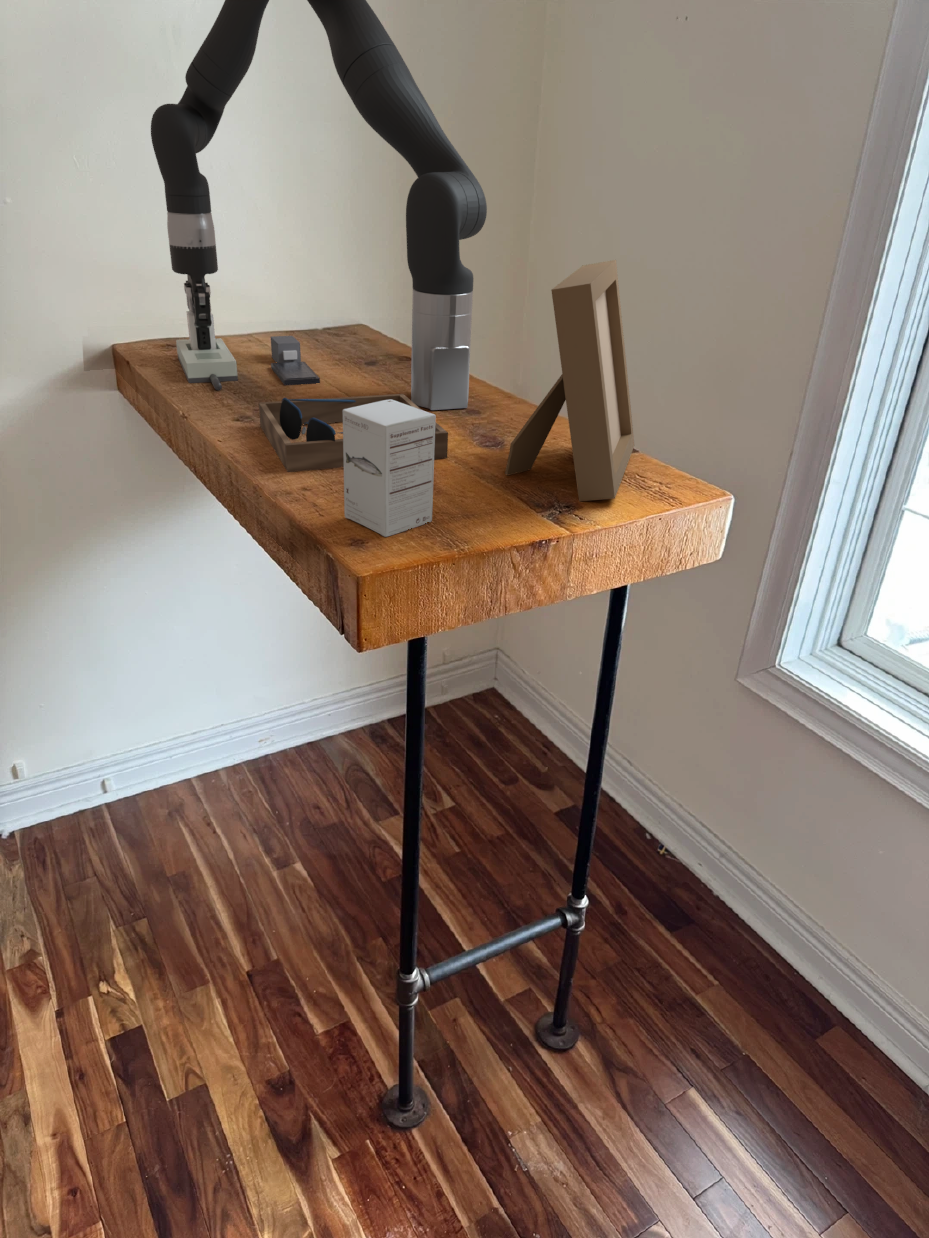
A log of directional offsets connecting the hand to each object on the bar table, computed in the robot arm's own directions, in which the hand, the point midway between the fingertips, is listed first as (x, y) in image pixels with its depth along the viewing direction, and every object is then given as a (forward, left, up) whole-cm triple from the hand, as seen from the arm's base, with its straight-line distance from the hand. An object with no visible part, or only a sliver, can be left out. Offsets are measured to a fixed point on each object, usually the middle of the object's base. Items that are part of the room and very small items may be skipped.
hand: (202, 346), depth 156 cm
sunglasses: (-48, -14, -3) cm, 50 cm away
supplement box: (-76, -11, -3) cm, 77 cm away
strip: (-6, 0, -3) cm, 7 cm away
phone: (-11, -14, -4) cm, 18 cm away
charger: (0, 0, 0) cm, 0 cm away
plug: (0, -15, -3) cm, 15 cm away
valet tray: (-48, -14, -3) cm, 50 cm away
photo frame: (-66, -39, -3) cm, 77 cm away
